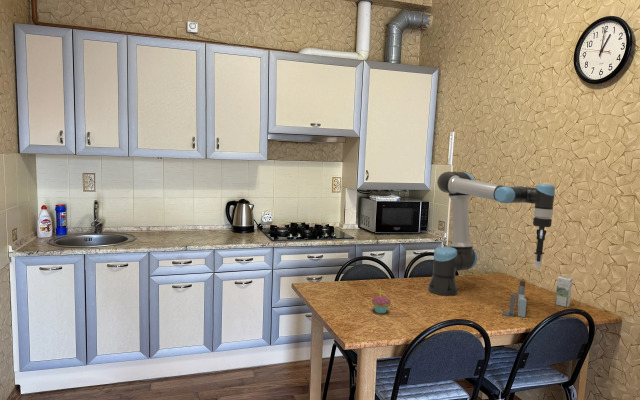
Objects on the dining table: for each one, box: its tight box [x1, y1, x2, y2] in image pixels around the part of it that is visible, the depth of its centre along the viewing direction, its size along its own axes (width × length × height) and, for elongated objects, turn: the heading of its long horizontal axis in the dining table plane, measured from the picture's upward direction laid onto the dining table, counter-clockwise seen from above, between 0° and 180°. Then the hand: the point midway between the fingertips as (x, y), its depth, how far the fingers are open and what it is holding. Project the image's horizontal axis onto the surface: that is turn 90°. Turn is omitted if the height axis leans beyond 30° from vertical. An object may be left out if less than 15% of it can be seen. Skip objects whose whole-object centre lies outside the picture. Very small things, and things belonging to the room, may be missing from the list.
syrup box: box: [554, 275, 573, 308], centre depth 216 cm, size 6×6×14 cm
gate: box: [516, 285, 528, 318], centre depth 206 cm, size 20×3×9 cm, turn 157°
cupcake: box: [371, 287, 391, 314], centre depth 195 cm, size 9×8×12 cm
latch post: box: [501, 292, 516, 318], centre depth 199 cm, size 5×5×10 cm
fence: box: [519, 279, 526, 288], centre depth 222 cm, size 3×13×9 cm, turn 153°
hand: (537, 267), depth 199 cm, fingers closed
